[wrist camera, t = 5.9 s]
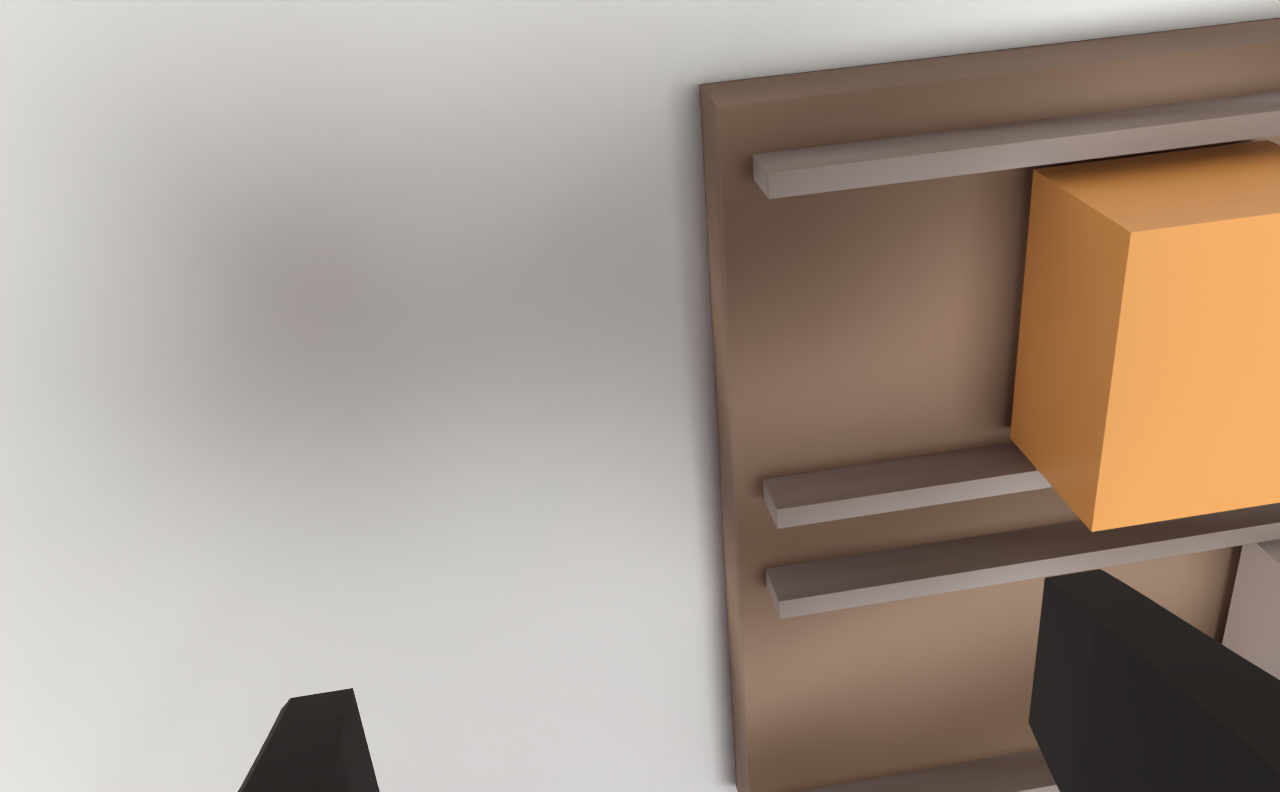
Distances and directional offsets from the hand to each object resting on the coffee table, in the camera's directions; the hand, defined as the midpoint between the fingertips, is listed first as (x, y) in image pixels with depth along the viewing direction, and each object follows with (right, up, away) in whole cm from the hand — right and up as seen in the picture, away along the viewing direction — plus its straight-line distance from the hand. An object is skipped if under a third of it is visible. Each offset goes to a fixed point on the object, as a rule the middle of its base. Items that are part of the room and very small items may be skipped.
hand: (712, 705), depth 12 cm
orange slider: (+8, +5, +8) cm, 12 cm away
